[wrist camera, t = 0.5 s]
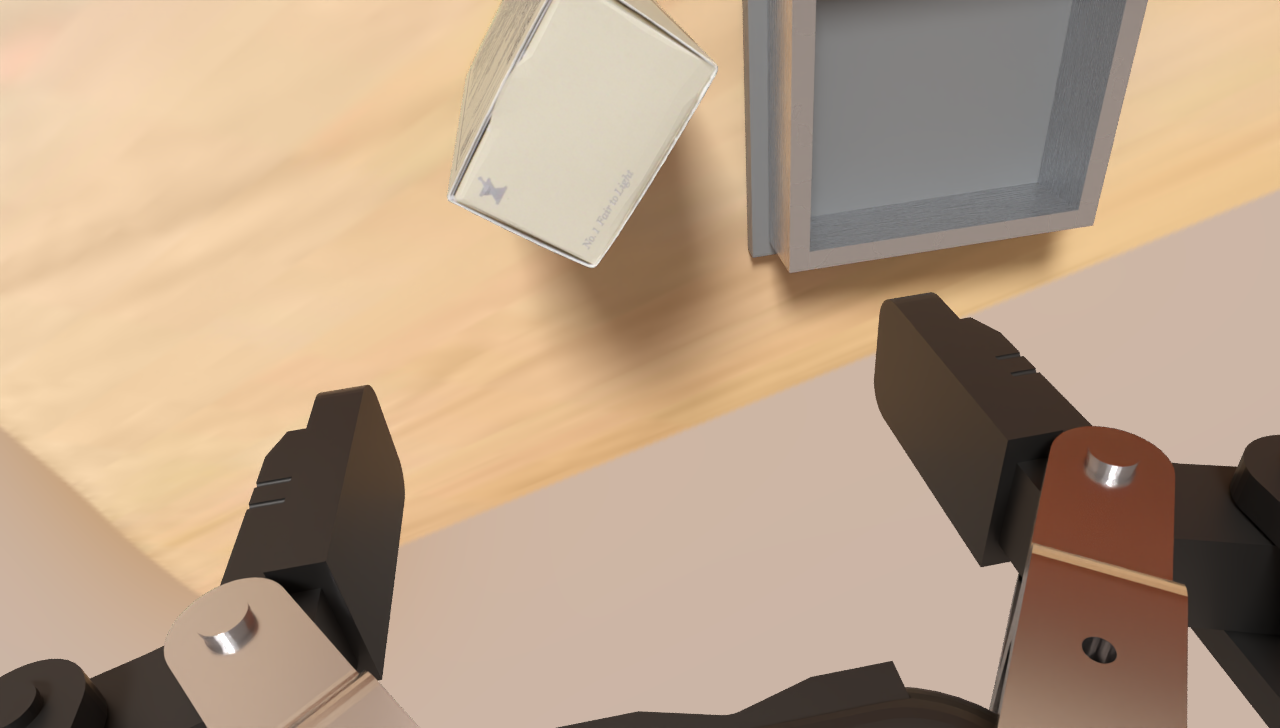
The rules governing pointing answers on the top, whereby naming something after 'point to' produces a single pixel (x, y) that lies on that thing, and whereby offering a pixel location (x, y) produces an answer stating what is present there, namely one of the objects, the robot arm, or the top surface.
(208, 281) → the top surface
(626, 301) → the top surface
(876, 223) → the shallow grey tray
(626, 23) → the skincare box
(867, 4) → the slate base plate
